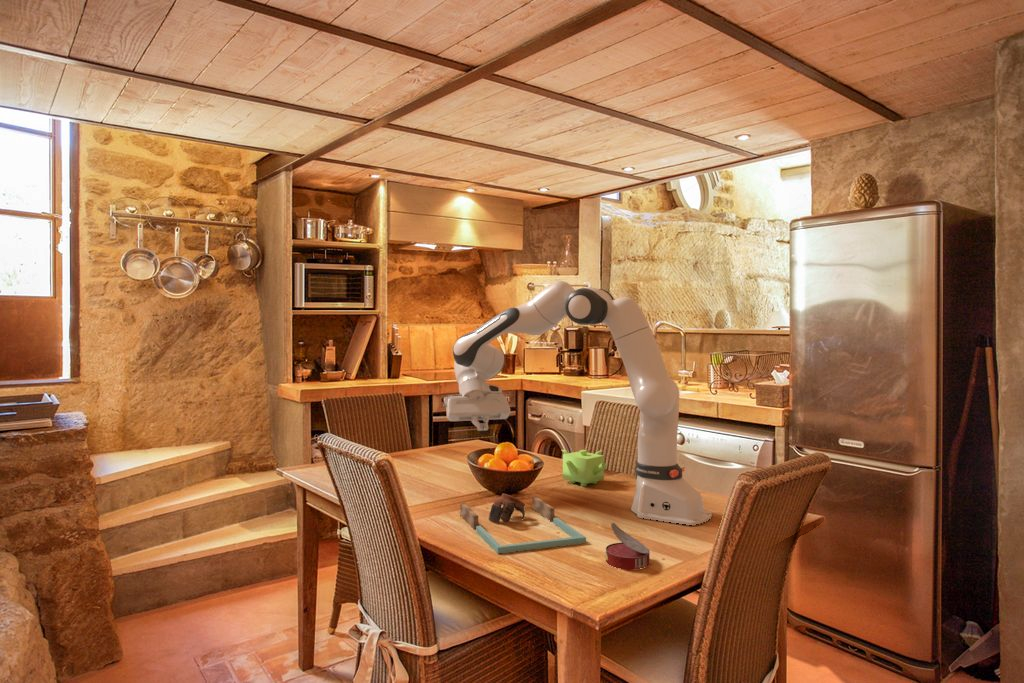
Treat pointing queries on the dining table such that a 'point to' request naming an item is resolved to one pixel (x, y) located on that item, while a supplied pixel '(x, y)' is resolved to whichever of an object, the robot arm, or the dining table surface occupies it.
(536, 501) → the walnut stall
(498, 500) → the dark brown curved piece
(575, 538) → the teal frame
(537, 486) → the dining table surface
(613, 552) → the canned food
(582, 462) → the green knobbed block
